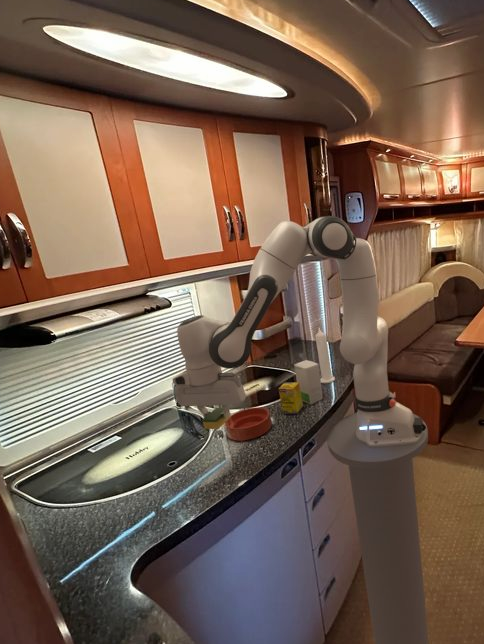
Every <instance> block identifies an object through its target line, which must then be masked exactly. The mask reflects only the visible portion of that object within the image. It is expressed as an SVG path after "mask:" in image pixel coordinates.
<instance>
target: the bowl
mask: <svg viewBox="0 0 484 644" xmlns="http://www.w3.org/2000/svg"><path fill="white" fill-rule="evenodd" d="M224 426H225V429H226V434H227V437H228V438H229V439H230V440H232V441H240V442H241V441H248V440H252V439H256V438H258V437H261V436H263V435H264V434H266V433H267V432H269V431H270V429H271V428H272V426H273V422H272V417H271V412H270V411H269V409H268V408H265V407H260V406H259V407H257V406H256V407H250V408H245V409H241V410H238V411H237V412H234V413H232V414H231V417H230V418H229V419H228V420H227V421H226V422H225V423H224Z"/></svg>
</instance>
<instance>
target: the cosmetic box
mask: <svg viewBox="0 0 484 644" xmlns="http://www.w3.org/2000/svg"><path fill="white" fill-rule="evenodd" d="M293 366H294V374H295V379H296V383H297V382H299V386H300V392H301V398H302V402H304V403H306V404H309V405H313V404H316V403H317V402H320V401H321V400H323V399H324V397H323V389H322V383H321V381H320V379H321V372H320V364H319V363H317V362H314V361H312V360H308V359H305V360H302V361H300V362H297V363H295V364H294V365H293Z"/></svg>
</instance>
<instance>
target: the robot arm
mask: <svg viewBox="0 0 484 644" xmlns="http://www.w3.org/2000/svg"><path fill="white" fill-rule="evenodd" d="M307 255H311V256H315V257H319V258H324V259H329V258H331V259H334V260H335V262H336V264H337V267H338V271H339V272H338V273H339V280H340V281H339V282H340V289H341V296H342V308H343V309H342V331H341V339H340V343H339V352H340V355H341V356H342V358H343V359H344V360H345V361H346V362H348V363H350V364H351V365H353V371H352V378H353V386H354V393H355V395H354V404H355V405H354V407H355V411H356V412H357V430H356V436H357V438H358V439H359V440H361V441H363V442H365V443H366V444H367V445H368V446H369V447H383V446H394V445H405V444H415V443H417V442H418V441H419V440H420V439H421V437H422V433H423V431H424V430H425V429H426V426H427V425H426V426H425V425H424V424H423V421H424V420H423V417H420V418H414V415H413V414H414V413H413V411H412V410H411V408H409V407H407V406H405V405H403V404H401V403H400V402H398V401H397V397H396V391H394V392H392V391H390V387H389V379H388V350H389V349H388V347H389V343H388V341H389V340H388V339H389V338H388V337H389V325H388V323H387V321H386V320H385V319H384V318H383V317H381V316H379V305H380V293H379V285H378V283H379V282H378V275H377V267H376V262H375V257H374V253H373V250H372V247H371V244H370V243H369V242H368V240H366V239H363V238H359V237H356V236H355V234H354V233H353V231H352V230H351V228H350V226H349V225H348V223H346V222H345V220H343V219H342V218H340V217H339V216H334V215H325V216H320V217H317V218H316V219H314V220H313V221H311V222H309V223H307V224H305V225H304V226H302V225H300V224H299V223H297V222H294V221H291V220H283V221H281V222H279V223H278V224H277V225H276V226H275V228H274V229H273V230H272V231H271V232H270V233H269V235H268V236H267V237H266V239H265V241H264V242H263V244H262V245H261V247H260V248H259V250H258V252H257V254H256V256H255V258H254V260H253V263H252V265H251V268H250V271H249V280H248V288H247V291H246V294H245V296H244V299H243V301H242V302H241V304H240V306H239V308H238V309H237V311H236V313H235V315H234V316H233V318H232V320H231V321H224V320H217V319H214V318H210V317H207V316H206V315H202V314H200V315H195V316H191V317H189V318H187V319H185V320H183V321H182V322H180V324H179V325H178V326H177V328H176V329H177V330H176V334H177V341H178V346H179V349H180V353H181V356H182V357H183V358H184V362H185V365H184V366H185V367H184V368H185V370H184V371H181V372H180V373H179V374H177V375H176V376H174V377H173V378H172V383H173V385H174V392H175V397H176V401H177V403H178V404H179V405H180V406H181V407H196V409H197V410H198V411H199V412H200V414H201V415H202V417H203V419H204V418H205V417H206V416H207V415H208V414H209V413H211V412H212V411H211V410H208V409H207V408H206V407H211V406H215V407H216V406H217V407H218V406H221V408H224V411H223V412H222V413H221V416H222V418H223V419H226V418H228V417H229V410H230V408H231V406H240V405H241V404H243V402H245V400H246V398H247V394H246V391H245V389H244V386H243V384H242V380H241V377H240V375H238V374H236V373H235V372H223V371H222V368H223V369H237V368H239V367H242V366H244V365H245V363H247V361H248V360H249V358H250V356H251V352H252V341H253V337H254V335H255V333H256V331H257V330H258V327H259V325H260V324H261V322H262V320H263V318H264V316H265V315H266V312H267V311H268V309H269V307H270V306H271V304H272V303H273V301H274V300H275V299H276V298H277V297H278V295H279V294H280V293H281V291H282V290H283V289H284V288H285V286H286V285H288V283H289V282H290V280H291V279H292V277H293V276H294V274H295V272H296V270H297V269H298V267H299V265H300V264H301V261H303V259H304V258H305V257H306V256H307Z"/></svg>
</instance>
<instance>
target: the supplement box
mask: <svg viewBox="0 0 484 644" xmlns="http://www.w3.org/2000/svg"><path fill="white" fill-rule="evenodd" d="M278 393H279V399H280V404H281V409H282V414H283V415H297V416H298V415H299V414H300V412H301V411H302V410H303V409H304V405H303V401H302V398H301V392H300V386H299V382H297V381H296V382H288V381H286V382H284V383H282V384H281V385H280V387H278Z"/></svg>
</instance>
